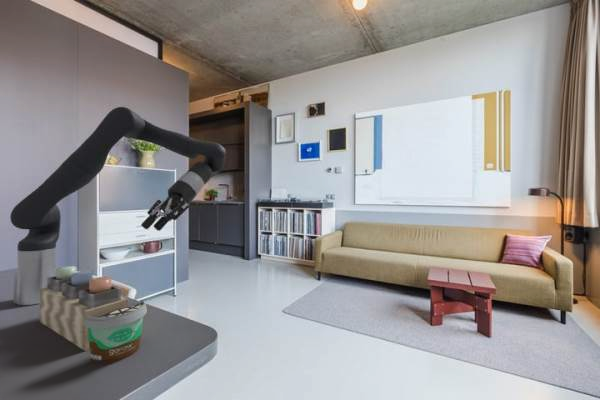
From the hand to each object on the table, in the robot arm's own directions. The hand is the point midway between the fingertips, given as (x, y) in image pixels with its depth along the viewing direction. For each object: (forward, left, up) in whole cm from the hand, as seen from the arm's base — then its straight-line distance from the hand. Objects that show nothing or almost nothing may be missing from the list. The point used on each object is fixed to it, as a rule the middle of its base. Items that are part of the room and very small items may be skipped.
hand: (150, 227), depth 78 cm
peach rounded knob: (-6, -11, -15) cm, 19 cm away
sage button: (-24, -1, -15) cm, 28 cm away
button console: (-15, -6, -26) cm, 31 cm away
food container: (+4, -18, -27) cm, 32 cm away
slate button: (-15, -6, -15) cm, 22 cm away
